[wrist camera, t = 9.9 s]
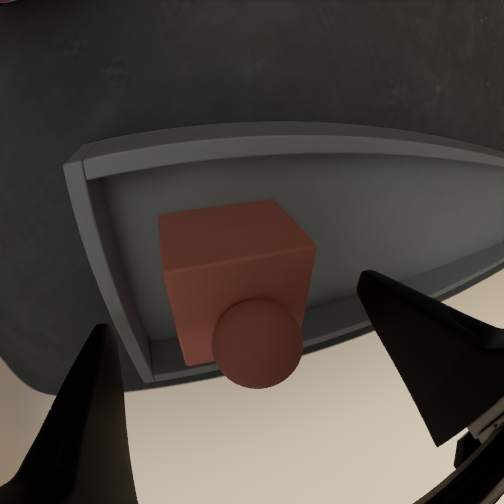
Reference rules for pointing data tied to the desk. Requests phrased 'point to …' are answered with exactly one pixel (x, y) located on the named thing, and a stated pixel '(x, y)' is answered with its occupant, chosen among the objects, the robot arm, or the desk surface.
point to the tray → (296, 205)
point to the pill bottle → (4, 0)
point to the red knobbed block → (238, 288)
